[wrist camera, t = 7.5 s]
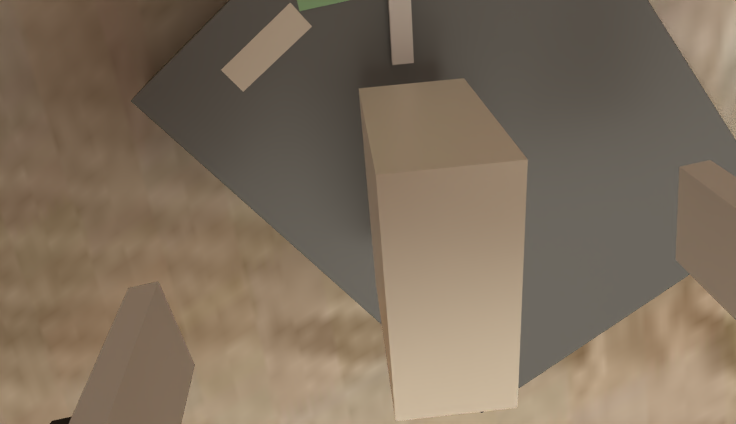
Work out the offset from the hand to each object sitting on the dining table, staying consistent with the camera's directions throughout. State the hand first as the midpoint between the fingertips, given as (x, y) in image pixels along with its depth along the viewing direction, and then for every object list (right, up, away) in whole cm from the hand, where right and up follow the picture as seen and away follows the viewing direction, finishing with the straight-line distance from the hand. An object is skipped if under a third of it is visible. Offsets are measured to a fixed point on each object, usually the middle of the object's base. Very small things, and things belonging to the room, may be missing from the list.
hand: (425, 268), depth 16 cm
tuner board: (+3, +4, +9) cm, 10 cm away
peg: (0, +6, +6) cm, 8 cm away
